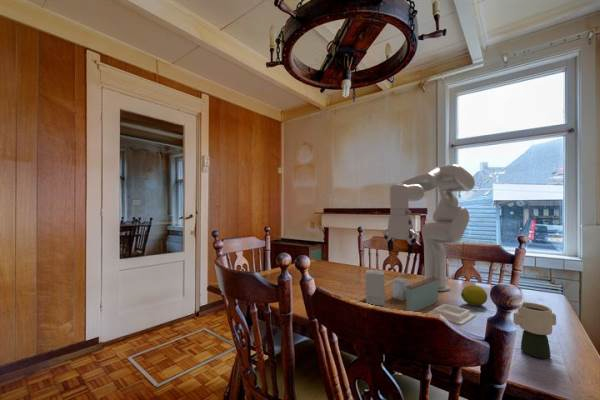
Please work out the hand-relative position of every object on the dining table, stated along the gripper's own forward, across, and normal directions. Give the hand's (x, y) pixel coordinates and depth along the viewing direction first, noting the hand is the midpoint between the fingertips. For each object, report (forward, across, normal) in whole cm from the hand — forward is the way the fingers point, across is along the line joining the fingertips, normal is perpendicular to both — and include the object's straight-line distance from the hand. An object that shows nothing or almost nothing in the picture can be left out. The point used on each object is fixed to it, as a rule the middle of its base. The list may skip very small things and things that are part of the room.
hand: (400, 251), depth 120 cm
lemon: (+21, -23, -15) cm, 34 cm away
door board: (+20, -11, +2) cm, 23 cm away
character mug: (+20, -48, +11) cm, 53 cm away
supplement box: (+20, +4, +13) cm, 24 cm away
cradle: (+20, -22, +2) cm, 30 cm away
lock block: (+20, 0, 0) cm, 20 cm away
